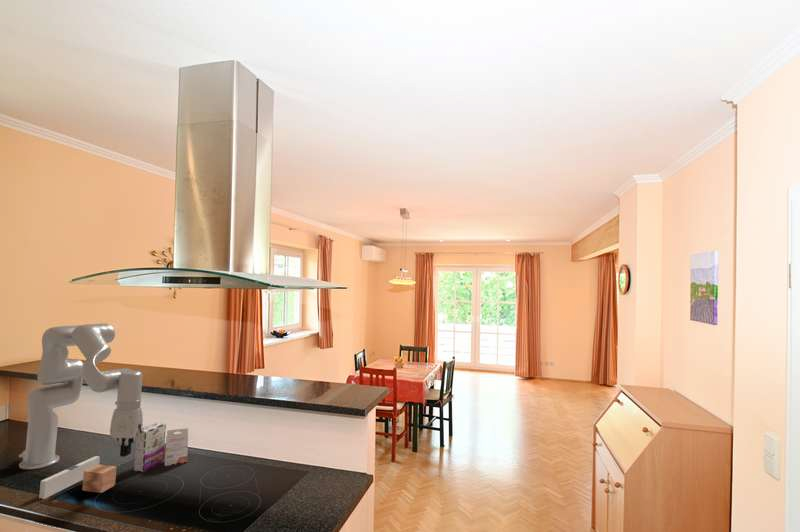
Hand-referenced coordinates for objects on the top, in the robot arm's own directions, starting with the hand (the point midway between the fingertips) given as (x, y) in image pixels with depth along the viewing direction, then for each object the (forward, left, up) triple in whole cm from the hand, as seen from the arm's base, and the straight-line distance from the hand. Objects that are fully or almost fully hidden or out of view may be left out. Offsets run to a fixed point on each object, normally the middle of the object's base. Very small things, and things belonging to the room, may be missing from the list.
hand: (125, 455), depth 151 cm
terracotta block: (-10, 0, -13) cm, 16 cm away
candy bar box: (-6, +20, -13) cm, 25 cm away
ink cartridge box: (+2, +26, -13) cm, 29 cm away
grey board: (-22, 0, -13) cm, 25 cm away
